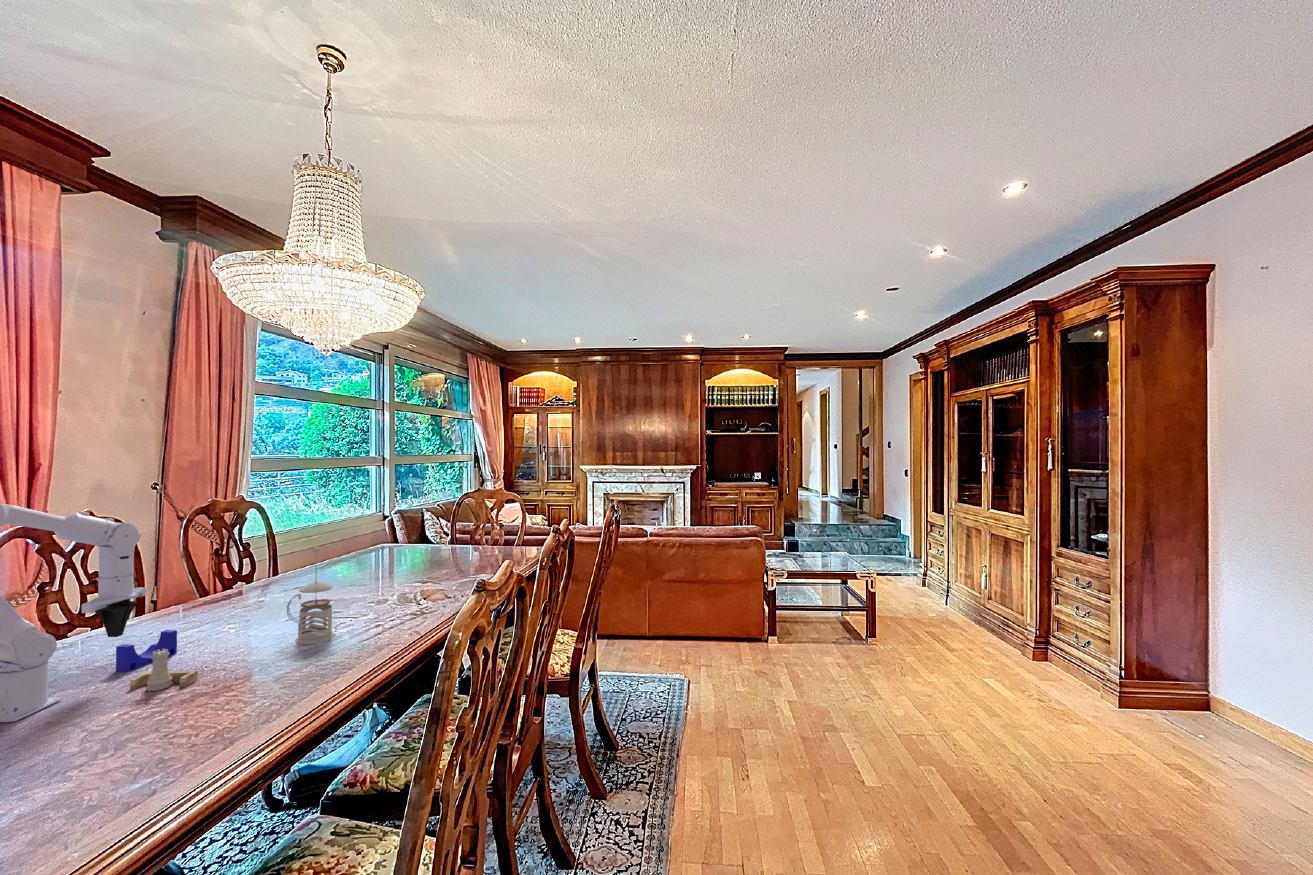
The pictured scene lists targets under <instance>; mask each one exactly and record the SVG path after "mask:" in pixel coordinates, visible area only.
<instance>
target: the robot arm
mask: <svg viewBox="0 0 1313 875" xmlns="http://www.w3.org/2000/svg"><path fill="white" fill-rule="evenodd" d="M7 525H14V526H21V527H26V528H32V529H39V530H45V531H51V532H53V533H54V534H55V536H56V537H57V538H58V539H59V540H63V541H67V542H68V541H70V542H76V543H81V544H85V545H86V544H87V545H88V544H89V545H92V546H96V547H98V583H97V584H98V585H97V586H98V588H97V589H98V591H97V592H98V593H97V597H95V598H93V599H91V600H89V601H87V602H85V603H84V602H83V603H82V604H81V614H92V613H95V615H97V616H98V618H99V619H100V620H101V622H102V624H103V626H104V629H105V632H106V634H107V637H108V638H117V637H121V636H123V635H124V632H125V629H126V625H127V623H128V620H129V619H130V616H131V613H132V612H134V611H133V610H134V609H135V608H136V606H137V601H135V600H133V599H136V598H140V597H144V596H147V587H143V586H139V587H135V588H134V573H135V572H134V566H135V565H134V562H135V559H134V558H135V550H136V549H135V547H136V545H137V544H138V543H139V542H140V540H141V538H142V533H140V532H139V529H138V528H137V527H136V526H135V525H134V524H133V523H128V522H115V518H111V517H106V518H100V517H96V516H92V515H90V512H88V511H87V512H86V511H78V513H77V512H71V513H67V514H66V515H63V516H61V515H57V514H51V513H47V512H43V511H39V510H34V509H30V508H26V507H21V506H17V505H13V504H7V503H0V527H1V528H2V527H4V526H7ZM57 642H58V641H57V640H56V638H55V637H54V635H52V634H50V633H47V632H43V631H41V630H39V629H38V627H37V626H36V625H34V624H33V623H31V622H30V621H28V620H26V619H24V618H23V617H21V615H20V614H19V613H18V612H17V611H16V609H14V607H13V606H12V605H11V604H10V603H9V601H7V600H6V599H5V598H4V596H3V595H2V594H1V593H0V723H13V722H17V721H19V720H21V719H23V718H26V717H27V716H30V715H32V714H34V713H36V712H39V711H40V710H43V709H45V708H47V707H49V706H52V705H54V704H56V703H58V702H59V701H61V700H62V698H61V697H49V663H50V662H49V659H50V658H51V657H52V656H53V655H54V654H55V652H56V649H57V646H58V643H57Z"/></svg>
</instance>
